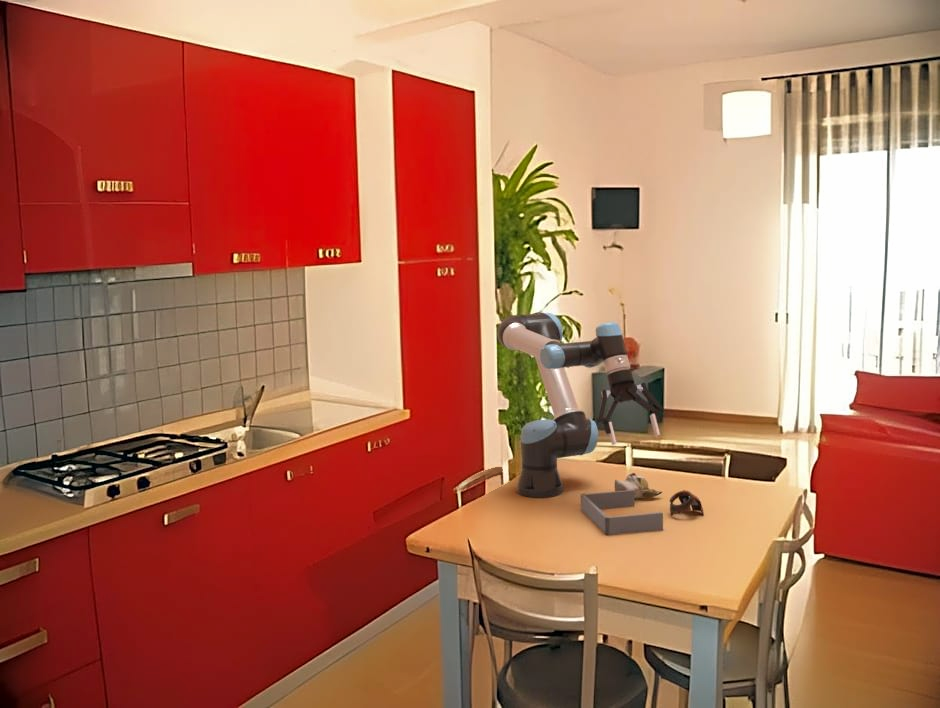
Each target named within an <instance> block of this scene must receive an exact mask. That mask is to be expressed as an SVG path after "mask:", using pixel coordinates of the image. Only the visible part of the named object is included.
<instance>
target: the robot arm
mask: <svg viewBox="0 0 940 708" xmlns="http://www.w3.org/2000/svg"><path fill="white" fill-rule="evenodd" d="M563 335H564V334H563V326H562V323H561V321H560V319H559V318H558V317H557V316H556V315H555V314H553V313H552V312H551V313H550V312H538V313H528V314H515V315H510V316H508V317H506V318H505V319H503V320H502V321H501V322H500V324H499V325H498V327H497V339H498V341H499V343H500V344H501V345H502V347H504V348H506V349H509V350H511V351H521V352H522V353H525V354H527V355H529V356H532V357H534V359H535V361H536V365H537V367H538V370H539V374H540V378H541V380H542V383H543V386H544V389H545V392H546V395H547V399H548V401H549V403H550V408H551V411H552V413H553V416H554V417H553V419H548V418H547V419H537V420H534V421H530V422H527V423H525V424H524V425H523V426H522V427H521V433H520V441H521V444H520V446H521V472H520V475H519V479H518V482H517V486H516V487H517V493H518V494H519V495H521V496H524V497H530V498H551V497H554V496H560V495H561V494H562V493H564V484H563V481H562V478H561V476H560V475H561V474H560V473H559V470H558V459H560V458H561V459H563V458H570V457H576V456H583V455H588V454H591V453H592V452H594V451H595V449H596V448H597V445H598V440H599V430H598V429H599V428H598V426H597V424H603V426H604V427H603V428H604V431H605V434H606V435H609V438H610V442H611V446H614V445H616V444H618V442H617V440H616V439H617V438H616V435H615V431H614V427H613V421H610V419H611V417H612V415H613V413H614V411H615V410H616V407H617V405H618V403H620V404H622V403H625V402H627V403H629V402H631V401H633V402H635V403H637V404H638V405H640V407H642V408H643V409H644V410H646V411H647V412H648V413H650V415H649V418H650V422H651V426H652V429H653V430H652V431H653V433H654V437H659V436H660V435H661V433H660V429H659V426H658V425H659V424H660V422H661V421H660V417H659V412H660V411H662V410H663V406H662V405H661V403H660V402H659V401H658V400H657V398H655V396H654V395H653V394H652V393H651V392H650V390H649V389H648V387H647V384H646V383H645V382H642V383H640V384H638V385H637V384H636V383H635V379H634V375H633V372H632V371H633V370H631V364H630V361H629V357H628V354H627V349H626V345H625V341H624V337H623V333H622V330H621V327H620V324H619V323H618V322H616V321H611V322H605V323H602V324H599V325H598V326H596V328H595V335H596V337H595V338H593V339H592V340H588V341H576V342H566V343H564V342H563V343H562V341H563V340H562V339H563ZM602 363H603V365H604V370H605V374H606V375H607V376H606V378H607V381H608V385H609V386H608V387H609V390H606V389H603V390H602V391H601V392H600V403H599V407H598V408H599V409H598V413H597V418H596V421H595V420H593V419H592V418H587V416H586V413H585V411H583V410H581V409H579V406H578V402H577V401H576V400H577V399H576V398H575V396H574V392H573V389H572V387H571V382H570V381H569V378H568V375H567V371H566V369H565V368H570V367H571V368H572V367H585V368H587V369H592V368H594V367H597V366H599V365H601V364H602ZM638 390H639V391H638ZM637 391H638V392H641V393H642V395H643V396H644V398H645V399H647V401H648V402H647V401H646V400H645V399H644V398H642V396H641V395H640V394H638V393H637ZM609 396H611V397H612V398H613V399H612V402H611V405H609V406H610V407H609V409H608V410H607V411H606V414H605V409H606V404H607V401H608V397H609ZM604 414H605V416H604ZM596 422H597V423H596Z"/></svg>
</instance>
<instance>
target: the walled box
mask: <svg viewBox="0 0 940 708" xmlns="http://www.w3.org/2000/svg"><path fill="white" fill-rule="evenodd" d="M630 507H635V499H634V490H625V491H615V490H614V491H604V492H593V493H583V494H580V511H581V512H582V513H583V514H584V515H585V516H586V517H587V518H588V519H589V520H590V521H591V522H592V523H593V524H594V525H595V526H596V527H597V528H598V529H599V530H600V531H601V532H602V533H603V534H604V535H605V536H614V535H615V536H616V535H625V534H633V533H634V534H635V533H643V532H655V531H663V530H664V513H663V512H662V511H657V512H648V513H647V512H646V513H638V514H626V515H616V516H614V515H613V516H607V515H606V513H604V512H603V511H602V510H608V509H620V508H630Z"/></svg>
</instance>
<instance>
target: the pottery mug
mask: <svg viewBox="0 0 940 708" xmlns="http://www.w3.org/2000/svg"><path fill="white" fill-rule="evenodd" d="M677 499H678V500H679V502H680V504H674V502H675V501H676V500H677ZM669 502H670V503H669V511H670V515H671V516H673V515H674V514H679V515H680V514H681V513H682V514H683V513H686V512H690V513H691V512H697V511H698V512H700V513H701V515H702V516H703V517H704V516H705V513H704V508H703V505H702V501H701V500H700V499H699V497H698V496H696V495H695V494H694V493H692V492H691V491H689V490H684V489H683V490H680V491H677V492H676V493H673V495H672V496H671V497H670V498H669Z"/></svg>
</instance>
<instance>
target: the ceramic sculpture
mask: <svg viewBox="0 0 940 708" xmlns="http://www.w3.org/2000/svg"><path fill="white" fill-rule="evenodd" d="M625 490H634V500H639V499H643V498H646V499H648V498H649V499H651V498H655V497H658V496H659V495H661V494H662V493H663V491H657V490H655V489H653V488H649V483H648V481H647V480H646V478H644V477H643V476H641V475H637V474H636V473H635V472H632V473H630V474H628V475H627V476H626V479H624V480H619V479H615V480H614V491H625Z"/></svg>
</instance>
